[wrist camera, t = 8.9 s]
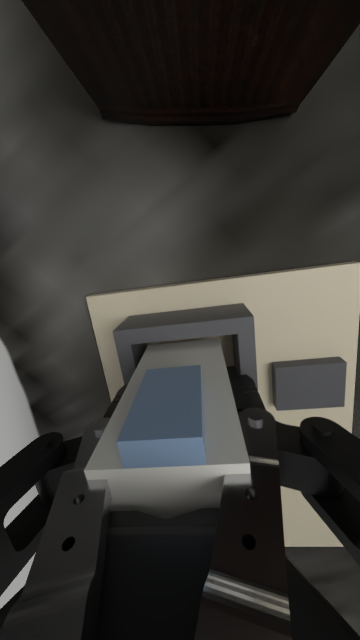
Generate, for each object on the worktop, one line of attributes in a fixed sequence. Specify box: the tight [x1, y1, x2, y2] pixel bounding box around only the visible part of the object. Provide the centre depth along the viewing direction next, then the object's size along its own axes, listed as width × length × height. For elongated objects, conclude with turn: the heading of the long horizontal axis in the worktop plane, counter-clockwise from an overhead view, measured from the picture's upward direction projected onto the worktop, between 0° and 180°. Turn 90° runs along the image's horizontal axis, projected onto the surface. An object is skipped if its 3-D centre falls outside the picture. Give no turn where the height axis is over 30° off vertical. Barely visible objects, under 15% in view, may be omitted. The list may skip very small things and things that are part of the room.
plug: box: [84, 339, 251, 519], centre depth 10 cm, size 4×5×8 cm
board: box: [86, 261, 360, 547], centre depth 16 cm, size 16×22×4 cm
